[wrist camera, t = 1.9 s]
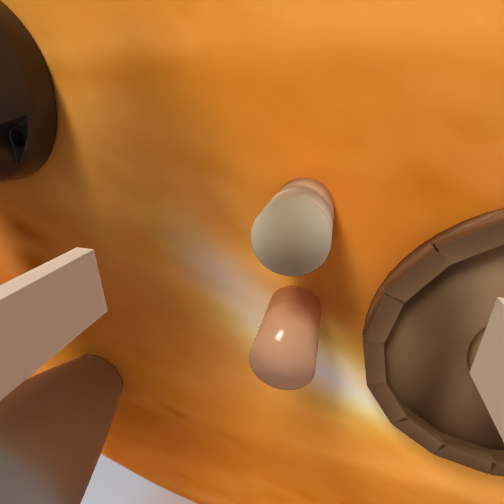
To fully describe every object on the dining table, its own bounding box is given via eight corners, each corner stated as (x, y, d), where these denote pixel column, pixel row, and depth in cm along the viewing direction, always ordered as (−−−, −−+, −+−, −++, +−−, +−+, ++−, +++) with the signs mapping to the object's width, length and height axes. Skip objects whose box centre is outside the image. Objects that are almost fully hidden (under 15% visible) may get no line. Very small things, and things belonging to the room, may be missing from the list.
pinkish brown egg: (274, 330, 29) (255, 388, 23) (265, 287, 28) (243, 337, 21) (324, 330, 28) (318, 391, 22) (317, 284, 26) (310, 337, 20)
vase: (107, 429, 43) (-140, 759, 21) (32, 354, 41) (-335, 637, 19) (173, 399, 37) (-79, 825, 15) (89, 308, 34) (-362, 653, 12)
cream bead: (279, 238, 25) (258, 278, 19) (269, 182, 24) (243, 206, 18) (337, 233, 24) (335, 274, 18) (330, 173, 22) (326, 195, 16)
